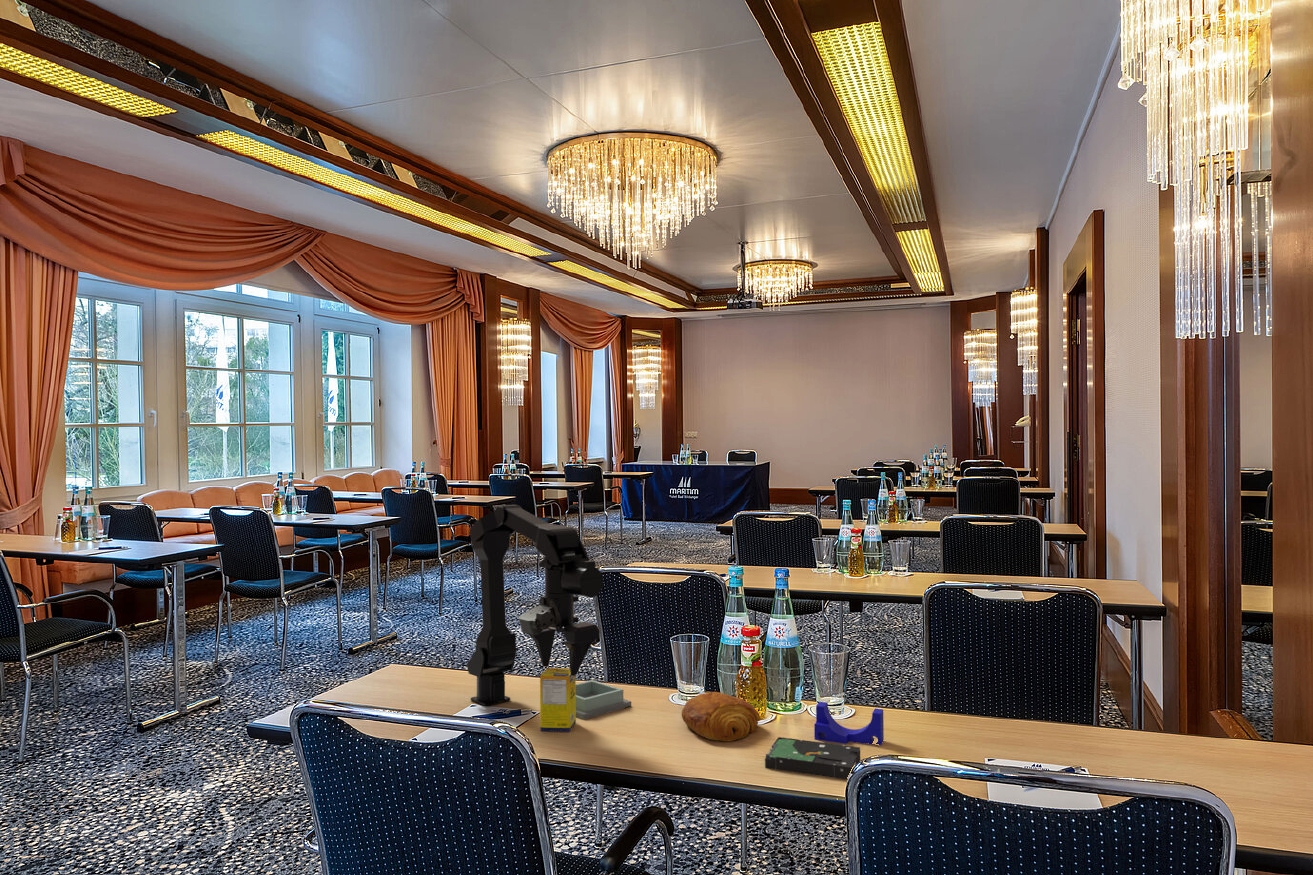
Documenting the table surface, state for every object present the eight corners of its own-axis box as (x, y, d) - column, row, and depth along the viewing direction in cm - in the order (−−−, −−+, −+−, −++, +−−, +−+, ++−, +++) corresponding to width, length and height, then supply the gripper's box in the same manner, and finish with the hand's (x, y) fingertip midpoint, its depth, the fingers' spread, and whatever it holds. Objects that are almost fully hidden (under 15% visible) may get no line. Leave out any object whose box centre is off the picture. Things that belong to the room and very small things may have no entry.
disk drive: (860, 762, 143) (777, 750, 148) (860, 746, 143) (777, 735, 148) (852, 784, 133) (764, 770, 139) (852, 767, 133) (764, 754, 139)
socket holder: (545, 705, 174) (545, 689, 174) (592, 693, 183) (592, 677, 183) (583, 719, 165) (583, 702, 165) (631, 706, 174) (631, 689, 174)
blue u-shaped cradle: (814, 740, 153) (814, 707, 153) (820, 732, 157) (819, 701, 157) (879, 749, 148) (879, 716, 148) (883, 741, 152) (883, 709, 152)
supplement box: (576, 722, 163) (576, 667, 163) (570, 732, 157) (570, 675, 157) (547, 721, 164) (547, 667, 164) (539, 731, 158) (539, 674, 158)
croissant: (701, 758, 150) (702, 716, 149) (672, 721, 164) (673, 683, 163) (772, 747, 154) (773, 706, 153) (737, 711, 169) (739, 675, 168)
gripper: (498, 590, 162) (498, 669, 162) (555, 602, 149) (554, 688, 148) (544, 584, 170) (544, 659, 169) (601, 595, 156) (601, 676, 156)
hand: (559, 670), depth 160 cm, fingers open, 9 cm apart
